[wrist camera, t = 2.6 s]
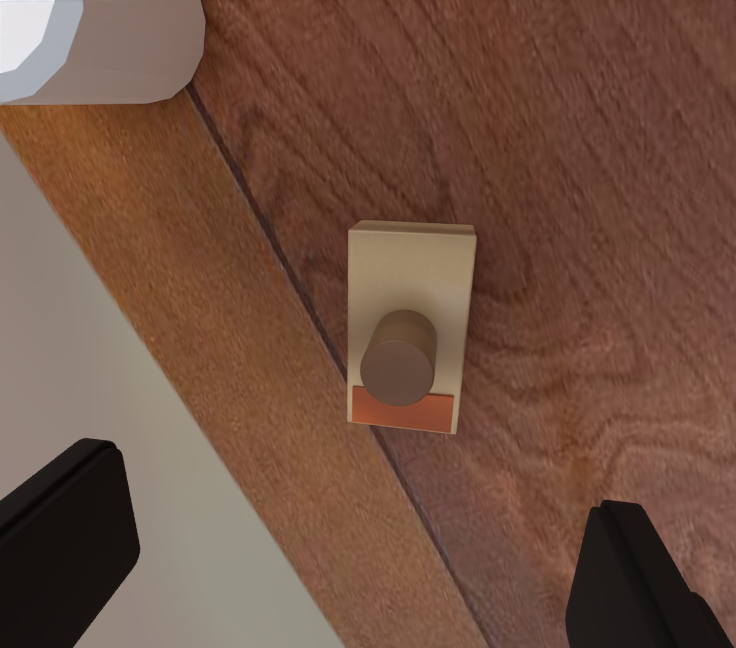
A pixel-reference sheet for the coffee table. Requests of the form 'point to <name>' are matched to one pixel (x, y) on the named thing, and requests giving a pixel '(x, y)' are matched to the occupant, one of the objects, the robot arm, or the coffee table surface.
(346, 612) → the coffee table surface
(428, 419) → the stamp
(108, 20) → the white cylinder
